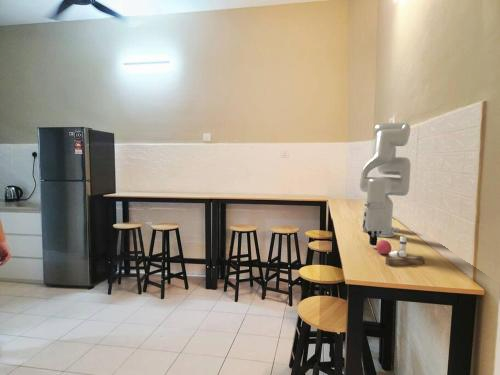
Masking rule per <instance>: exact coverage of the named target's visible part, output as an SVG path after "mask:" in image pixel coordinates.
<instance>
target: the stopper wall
mask: <svg viewBox="0 0 500 375" xmlns="http://www.w3.org/2000/svg"><path fill="white" fill-rule="evenodd" d="M425 262H426V257H424V256H422V255H417V256H413V255H412V256H405V257H390V256H389V257H385V265H387V266H390V267H391V266H404V265H406V266H407V265H420V264H421V265H423V264H424V265H425Z"/></svg>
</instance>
